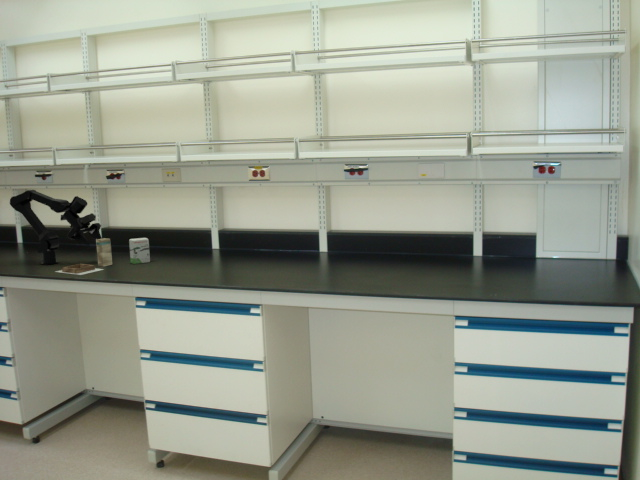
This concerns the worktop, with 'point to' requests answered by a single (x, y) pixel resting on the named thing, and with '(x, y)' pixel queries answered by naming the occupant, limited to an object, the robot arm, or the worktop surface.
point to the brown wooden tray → (78, 268)
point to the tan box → (104, 252)
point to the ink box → (139, 250)
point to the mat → (82, 272)
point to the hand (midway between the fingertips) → (96, 243)
